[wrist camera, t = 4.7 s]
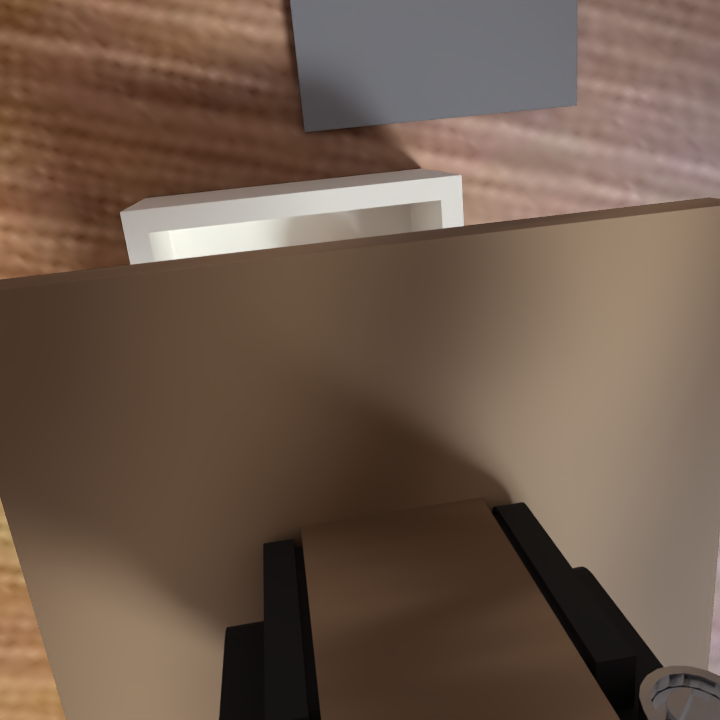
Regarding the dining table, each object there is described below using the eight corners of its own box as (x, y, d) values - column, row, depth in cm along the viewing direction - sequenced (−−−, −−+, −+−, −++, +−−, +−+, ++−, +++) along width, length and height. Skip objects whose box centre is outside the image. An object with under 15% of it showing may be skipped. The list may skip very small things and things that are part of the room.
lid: (708, 197, 12) (1111, 249, 6) (672, 740, 16) (900, 1073, 10) (-31, 283, 11) (-358, 444, 5) (128, 850, 15) (45, 1297, 9)
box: (422, 168, 30) (461, 174, 25) (437, 417, 34) (474, 472, 28) (145, 198, 29) (119, 212, 23) (194, 453, 33) (182, 519, 27)
